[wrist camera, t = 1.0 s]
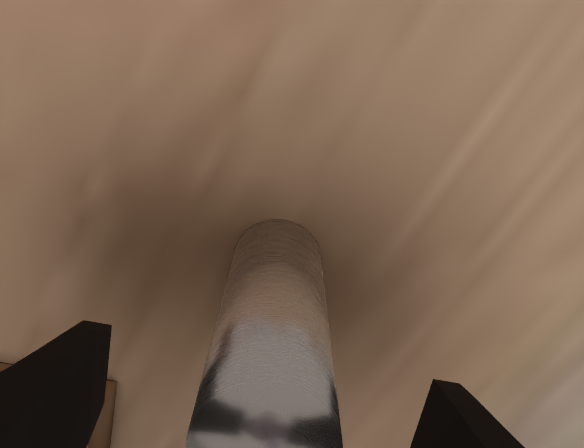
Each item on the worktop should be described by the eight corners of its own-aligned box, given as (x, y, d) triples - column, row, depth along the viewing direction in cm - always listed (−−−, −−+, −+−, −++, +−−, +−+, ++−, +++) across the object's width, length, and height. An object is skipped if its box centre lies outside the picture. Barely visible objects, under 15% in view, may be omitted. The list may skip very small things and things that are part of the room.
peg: (311, 306, 20) (324, 520, 11) (227, 291, 20) (176, 497, 11) (329, 228, 19) (358, 398, 10) (241, 211, 19) (197, 372, 10)
